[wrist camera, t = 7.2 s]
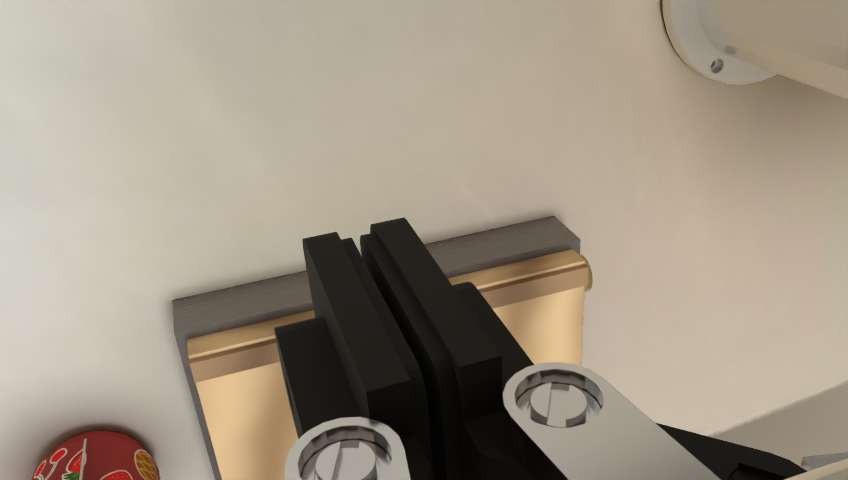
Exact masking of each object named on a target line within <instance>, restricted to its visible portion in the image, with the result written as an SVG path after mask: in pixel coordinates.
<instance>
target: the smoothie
mask: <svg viewBox="0 0 848 480" xmlns="http://www.w3.org/2000/svg"><path fill="white" fill-rule="evenodd" d="M32 480H160V477H159V470H158V467H157V465H156V463H155V461H154V459H153V457H152V456H151V455H149V454H148V453H147V452H146V451H145V449H144V447H143V446H142V445H140V444H139V443H138V442H137V441H136V440H135V439H133V438H131V437H129V436H127V435H124V434H122V433H118V432H112V431H92V432H86V433H83V434H80V435H77V436H73V437H71V438H69V439H68V440H66V441H64V442H63V443H61V444H60V445H58V446H57V447H56V448H55V449H54V451H53V452H52V453H51V454H50V455H48V456H47V457H46V458H45V459H44V460H43V461H42V463H41V464H40V465H39V466H38V467H37V468H36V470H35V472H34V475H33V478H32Z"/></svg>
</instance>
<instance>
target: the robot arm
mask: <svg viewBox="0 0 848 480" xmlns="http://www.w3.org/2000/svg"><path fill="white" fill-rule="evenodd" d="M662 3H663V16H664V21H665V26H666V30H667V34H668V36H669V38H670V41H671V43H672V45H673V47H674V50H675V51H676V52H677V54H678V55H679V56H680V57H681V59H682V60H683V61H684V63H685V64H687V65H688V66H689V67H690V68H692V69H693V70H694V71H695V72H697V73H699V74H701V75H703V76H705V77H707V78H709V79H712V80H714V81H718V82H721V83H725V84H734V85H745V84H751V83H756V82H761V81H763V80H766V79H768V78H771V77H773V76H776V75H778V74H779V75H782V76H784V77H787V78H790V79H793V80H795V81H798V82H801V83H804V84H806V85H809V86H812V87H815V88H817V89H820V90H823V91H826V92H828V93H831V94H834V95H837V96H839V97H842V98H845V99H848V0H662ZM360 245H361V254H362V257H361V255H360V253H359V251H358V249H357V247H356V245H355V243H354V241H353V240H352V238H347V239H343V240H341V239H340V237H339V235H338V233H337V232H333V233H329V234H324V235H319V236H314V237H310V238H305V239H303V249H304V256H305V262H306V268H307V274H308V280H309V285H310V291H311V297H312V303H313V309H314V315H315V318H312V319H308V320H304V321H299V322H295V323H291V324H287V325H283V326H278V327H274V332H275V337H276V343H277V348H278V353H279V357H280V362H281V367H282V372H283V377H284V382H285V386H286V391H287V395H288V399H289V404H290V408H291V412H292V416H293V420H294V424H295V428H296V432H297V435H298V440H297V441H296V442H295V444H294V445H293V447H292V448H291V450H290V452H289V453H288V455H287V460H286V465H285V480H848V452H845V453H836V454H826V455H817V456H809V457H803V459H802V462H801V466H798V465H796V464H795V463H793V462H791V461H790V460H788V459H785V458H782V457H780V456H777V455H774V454H771V453H768V452H765V451H761V450H757V449H753V448H749V447H745V446H742V445H738V444H734V443H730V442H726V441H723V440H719V439H715V438H711V437H707V436H704V435H700V434H696V433H692V432H688V431H685V430H681V429H677V428H673V427H669V426H666V425H662V424H658V423H655V422H654V421H652V420H651V419H650V418H649V417H648V416H647V415H645V414H644V413H643V412H642V411H641V410H640V409H639V408H637V407H636V406H635V405H634V404H633V403H632V402H630V401H629V400H628V399H627V398H626V397H625V396H623V395H622V394H621V393H620V392H619V391H618V390H617V389H615V388H614V387H613V386H612V385H611V384H610V383H608V382H607V381H606V380H605V379H604V378H602V377H601V376H599V375H598V374H596V373H595V372H593V371H592V370H590V369H587V368H584V367H581V366H579V365H576V364H570V363H563V362H548V363H540V364H536V365H534V364H533V362H532V361H531V360H530V358H529V357H528V356H527V354H526V353H525V352H524V350H523V349H522V348H521V346H520V345H519V344H518V342H517V341H516V340H515V338H514V337H513V336H512V334H511V333H510V332H509V330H508V329H507V328H506V326H505V325H504V324H503V322H502V321H501V320H500V318H499V317H498V316H497V314H496V313H495V312H494V310H493V309H492V308H491V306H490V305H489V304H488V302H487V301H486V300H485V298H484V297H483V296H482V294H481V293H480V292H479V290H478V289H477V288H476V286H475V285H474V284H473V283H472V282H468V281H467V282H463V283H459V284H455V285H452V284H451V283H450V281H449V280H448V278H447V277H446V276H445V274H444V273H443V271H442V270H441V268H440V267H439V266H438V264H437V263H436V261H435V260H434V258H433V257H432V256H431V254H430V253H429V251H428V250H427V248H426V247H425V246H424V244H423V243H422V241H421V240H420V238H419V237H418V236H417V234H416V233H415V231H414V230H413V228H412V227H411V226H410V224H409V223H408V221H407V220H406V219H405V218H400V219H395V220H390V221H385V222H381V223H376V224H371V227H370V234H366V235H361V237H360Z"/></svg>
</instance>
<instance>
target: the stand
mask: <svg viewBox="0 0 848 480" xmlns="http://www.w3.org/2000/svg"><path fill="white" fill-rule="evenodd" d="M424 246H425V247H426V248H427V250H428V251H429V253H430V254H431V256H432V257H433V258H434V260H435V261H436V263H437V264H438V266H439V267H440V268H441V270H442V271H443V273H444V274H445V276H446V277H447V278H451V277H455V276H460V275H464V274H468V273H472V272H477V271H481V270H485V269H489V268H494V267H498V266H502V265H506V264H511V263H515V262H519V261H523V260H528V259H532V258H536V257H540V256H545V255H549V254H553V253H557V252H562V251H566V250H570V249H573V250H574V251H575V252H576V253H577V254H579V255H580V256H581V257H582V258H583V259H584V260H585V264H586V265H587V266H588V267H589V270H588V285H586V286H584V292H587V291H589V290H590V289H591V287H592V272H591V269H590V266H589V264H588V262H587V260H586V258H585V257H584V256H583V255H581V254H580V239H579V238H578V237H577V236H576V235H575V234H574V233H573V232H571V231H570V230H569V229H568V228H567V227H566V226H565V225H564V224H563V223H562V222H560V221H559V220H558V219H557V218H556V217H555V216H552V217H548V218H543V219H539V220H534V221H530V222H525V223H521V224H516V225H512V226H507V227H503V228H498V229H493V230H489V231H484V232H480V233H475V234H471V235H466V236H462V237H457V238H453V239H448V240H444V241H439V242H435V243H430V244H426V245H424ZM311 310H314V309H313V303H312V297H311V291H310V285H309V280H308V274H307V271H304V272H300V273H295V274H291V275H286V276H282V277H277V278H273V279H268V280H263V281H259V282H254V283H250V284H245V285H241V286H236V287H232V288H227V289H223V290H218V291H214V292H209V293H205V294H200V295H196V296H191V297H187V298H182V299H178V300H173V317H174V333H175V337H176V341H177V344H178V348H179V351H180V355H181V359H182V362H183V366H184V369H185V373H186V376H187V380H188V383H189V387H190V391H191V394H192V398H193V401H194V405H195V408H196V412H197V415H198V419H199V423H200V426H201V430H202V433H203V437H204V440H205V444H206V447H207V451H208V455H209V458H210V462H211V465H212V469H213V472H214V476H215V479H216V480H222V478H221V474H220V470H219V467H218V463H217V459H216V456H215V452H214V449H213V445H212V441H211V438H210V434H209V430H208V427H207V423H206V419H205V416H204V412H203V408H202V405H201V401H200V397H199V394H198V390H197V386H196V383H195V382H194V378H193V375H192V371H191V368H190V364H189V357H188V348H187V339H191V338H196V337H200V336H204V335H208V334H213V333H217V332H221V331H226V330H230V329H234V328H238V327H243V326H247V325H251V324H255V323H260V322H264V321H268V320H272V319H277V318H281V317H285V316H289V315H294V314H298V313H302V312H306V311H311Z"/></svg>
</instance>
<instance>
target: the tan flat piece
mask: <svg viewBox="0 0 848 480" xmlns="http://www.w3.org/2000/svg"><path fill="white" fill-rule="evenodd" d="M588 270H589V267H588V266H587V265H586V264H585V260H584V259H583V258H582V257H581V256H580V255H579V254H577V253H576V252H575V251H574V250H573V249H570V250H566V251H562V252H557V253H553V254H549V255H545V256H540V257H536V258H532V259H528V260H523V261H519V262H515V263H511V264H506V265H502V266H498V267H494V268H489V269H485V270H481V271H477V272H472V273H468V274H464V275H460V276H455V277H451V278H448V280H449V281H450V283H451V284H452V285H455V284H459V283H463V282H467V281H468V282H472V283H473V284H474V285H475V286H476V288H477V289H478V290H479V292H480V293H481V294H482V296H483V297H484V298H485V300H486V301H487V302H488V304H489V305H490V306H491V308H492V309H493V310H494V312H495V313H496V314H497V316H498V317H499V318H500V320H501V321H502V322H503V324H504V325H505V326H506V328H507V329H508V330H509V332H510V333H511V334H512V336H513V337H514V338H515V340H516V341H517V342H518V344H519V345H520V346H521V348H522V349H523V350H524V352H525V353H526V354H527V356H528V357H529V358H530V360H531V361H532V362H533V364H534V365H536V364H540V363H548V362H563V363H570V364H576V365H579V366H581V364H582V336H583V309H584V286H586V285H588ZM312 318H315V315H314V310H311V311H306V312H302V313H298V314H294V315H289V316H285V317H281V318H277V319H272V320H268V321H264V322H260V323H255V324H251V325H247V326H243V327H238V328H234V329H230V330H226V331H221V332H217V333H213V334H208V335H204V336H200V337H196V338H191V339H187V348H188V357H189V364H190V368H191V371H192V375H193V378H194V382H195V383H196V386H197V390H198V394H199V397H200V401H201V405H202V408H203V412H204V416H205V419H206V423H207V427H208V430H209V434H210V438H211V441H212V445H213V449H214V452H215V456H216V459H217V463H218V467H219V470H220V474H221V478H222V480H285V465H286V460H287V455H288V453H289V452H290V450H291V448H292V447H293V445H294V444H295V442H296V441H297V440H298V435H297V432H296V428H295V424H294V420H293V416H292V412H291V408H290V404H289V399H288V395H287V391H286V386H285V382H284V377H283V372H282V367H281V362H280V357H279V353H278V348H277V343H276V337H275V332H274V327H278V326H283V325H287V324H291V323H295V322H299V321H304V320H308V319H312Z"/></svg>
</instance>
